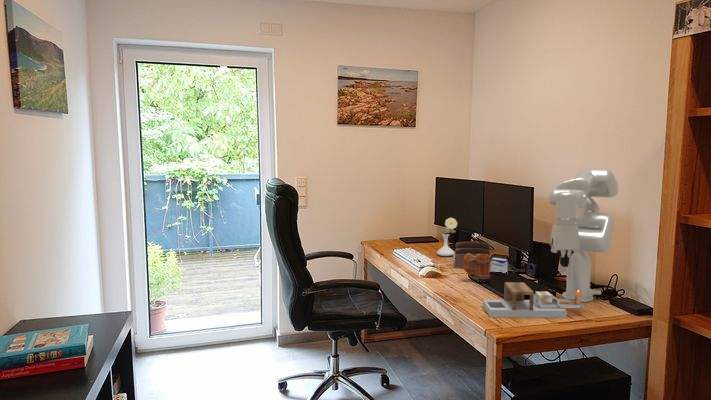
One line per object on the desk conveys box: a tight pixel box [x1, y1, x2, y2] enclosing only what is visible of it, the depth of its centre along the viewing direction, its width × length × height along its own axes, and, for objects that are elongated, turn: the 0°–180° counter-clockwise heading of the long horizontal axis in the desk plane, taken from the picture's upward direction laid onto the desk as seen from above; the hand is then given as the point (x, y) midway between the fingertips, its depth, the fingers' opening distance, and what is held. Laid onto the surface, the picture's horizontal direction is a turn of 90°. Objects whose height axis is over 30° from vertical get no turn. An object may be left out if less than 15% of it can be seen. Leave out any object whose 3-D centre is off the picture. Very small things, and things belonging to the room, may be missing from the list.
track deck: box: [482, 299, 567, 319], centre depth 186 cm, size 30×13×3 cm, turn 86°
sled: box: [533, 289, 585, 309], centre depth 184 cm, size 18×8×6 cm, turn 86°
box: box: [490, 257, 509, 273], centre depth 244 cm, size 8×4×9 cm, turn 51°
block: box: [534, 291, 553, 304], centre depth 185 cm, size 5×5×5 cm
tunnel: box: [503, 281, 535, 310], centre depth 185 cm, size 8×13×8 cm, turn 176°
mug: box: [462, 253, 492, 280], centre depth 229 cm, size 15×8×15 cm, turn 92°
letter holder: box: [454, 241, 491, 270], centre depth 261 cm, size 10×20×14 cm, turn 75°
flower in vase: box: [436, 217, 458, 257], centre depth 289 cm, size 13×11×25 cm
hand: (564, 266), depth 183 cm, fingers closed
